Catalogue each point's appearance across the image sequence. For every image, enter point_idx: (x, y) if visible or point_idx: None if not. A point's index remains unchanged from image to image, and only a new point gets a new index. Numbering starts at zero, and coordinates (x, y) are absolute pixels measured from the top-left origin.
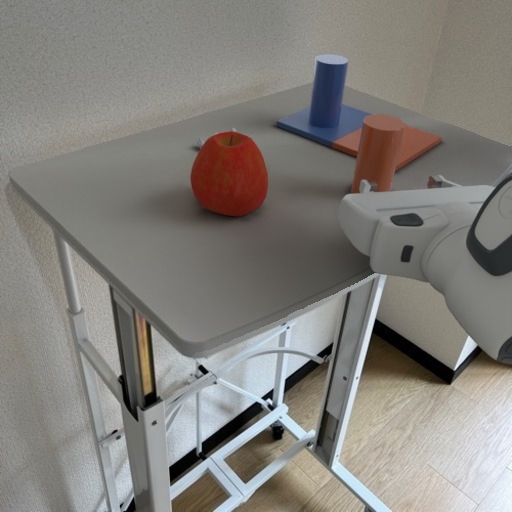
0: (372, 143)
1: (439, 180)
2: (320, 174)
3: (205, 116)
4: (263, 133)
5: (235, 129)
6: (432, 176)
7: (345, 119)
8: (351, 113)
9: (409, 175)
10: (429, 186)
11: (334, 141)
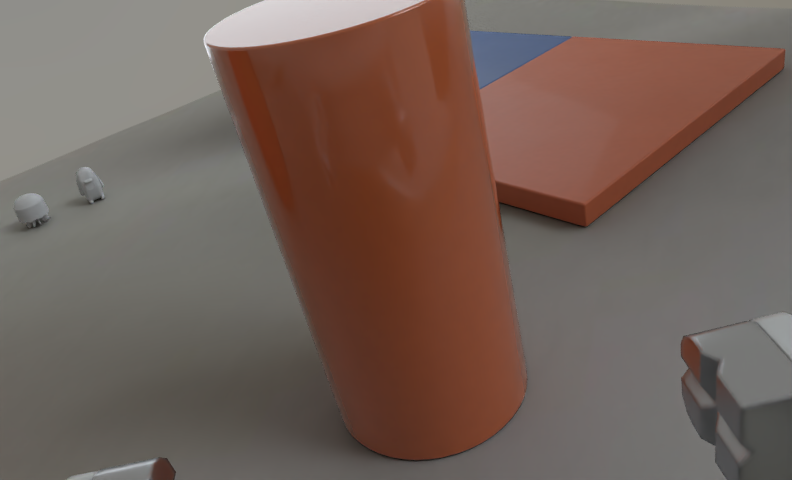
0: (262, 150)
1: (778, 393)
2: (270, 295)
3: (95, 144)
4: (200, 162)
5: (88, 170)
6: (704, 344)
7: None
8: (482, 47)
9: (652, 235)
10: (699, 421)
11: None
